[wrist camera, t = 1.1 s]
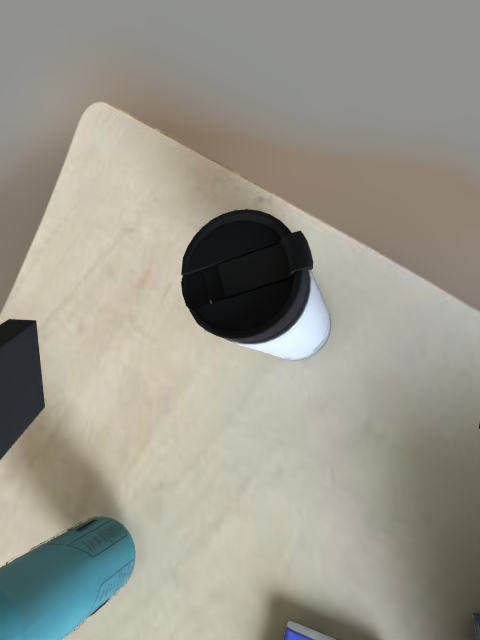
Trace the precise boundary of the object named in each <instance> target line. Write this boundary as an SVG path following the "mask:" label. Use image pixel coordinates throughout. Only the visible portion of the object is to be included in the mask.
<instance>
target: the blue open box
mask: <svg viewBox="0 0 480 640" xmlns="http://www.w3.org/2000/svg"><path fill="white" fill-rule="evenodd" d="M473 619H474V625H475V631H476V637H477V640H480V614H473Z"/></svg>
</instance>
